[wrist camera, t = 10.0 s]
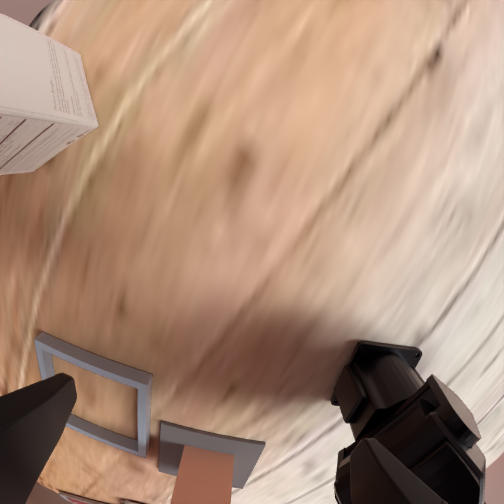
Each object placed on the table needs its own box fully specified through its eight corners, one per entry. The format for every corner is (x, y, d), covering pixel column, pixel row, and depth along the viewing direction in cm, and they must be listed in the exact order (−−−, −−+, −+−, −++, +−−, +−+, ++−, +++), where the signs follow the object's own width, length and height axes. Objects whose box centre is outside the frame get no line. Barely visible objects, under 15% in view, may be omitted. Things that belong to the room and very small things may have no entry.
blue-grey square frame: (152, 374, 22) (147, 385, 21) (149, 448, 25) (145, 458, 23) (42, 331, 22) (34, 338, 20) (58, 411, 24) (52, 419, 23)
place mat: (265, 442, 24) (265, 445, 24) (242, 486, 26) (242, 488, 26) (162, 420, 24) (161, 423, 23) (159, 468, 26) (158, 471, 26)
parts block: (234, 454, 24) (228, 528, 15) (225, 476, 25) (219, 542, 17) (184, 444, 24) (167, 517, 15) (181, 467, 25) (166, 532, 16)
